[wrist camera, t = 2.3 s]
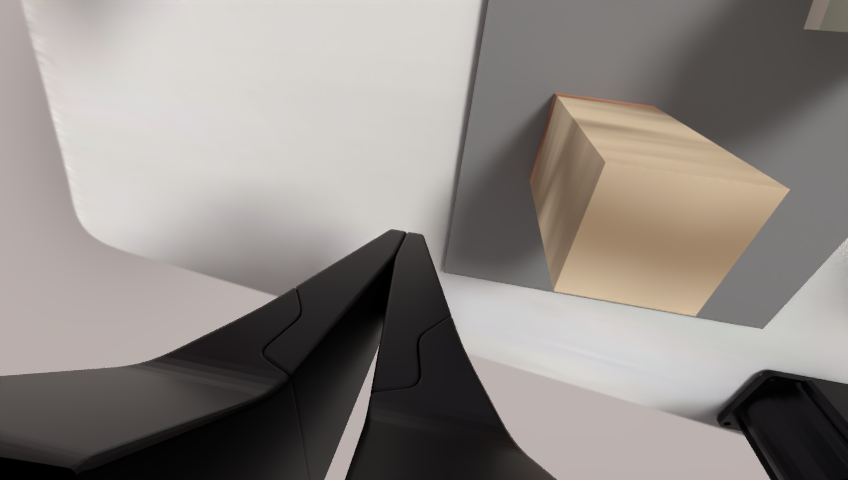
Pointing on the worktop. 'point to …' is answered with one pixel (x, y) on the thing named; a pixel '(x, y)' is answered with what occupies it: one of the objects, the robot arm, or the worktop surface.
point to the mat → (679, 98)
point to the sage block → (828, 16)
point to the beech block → (642, 205)
